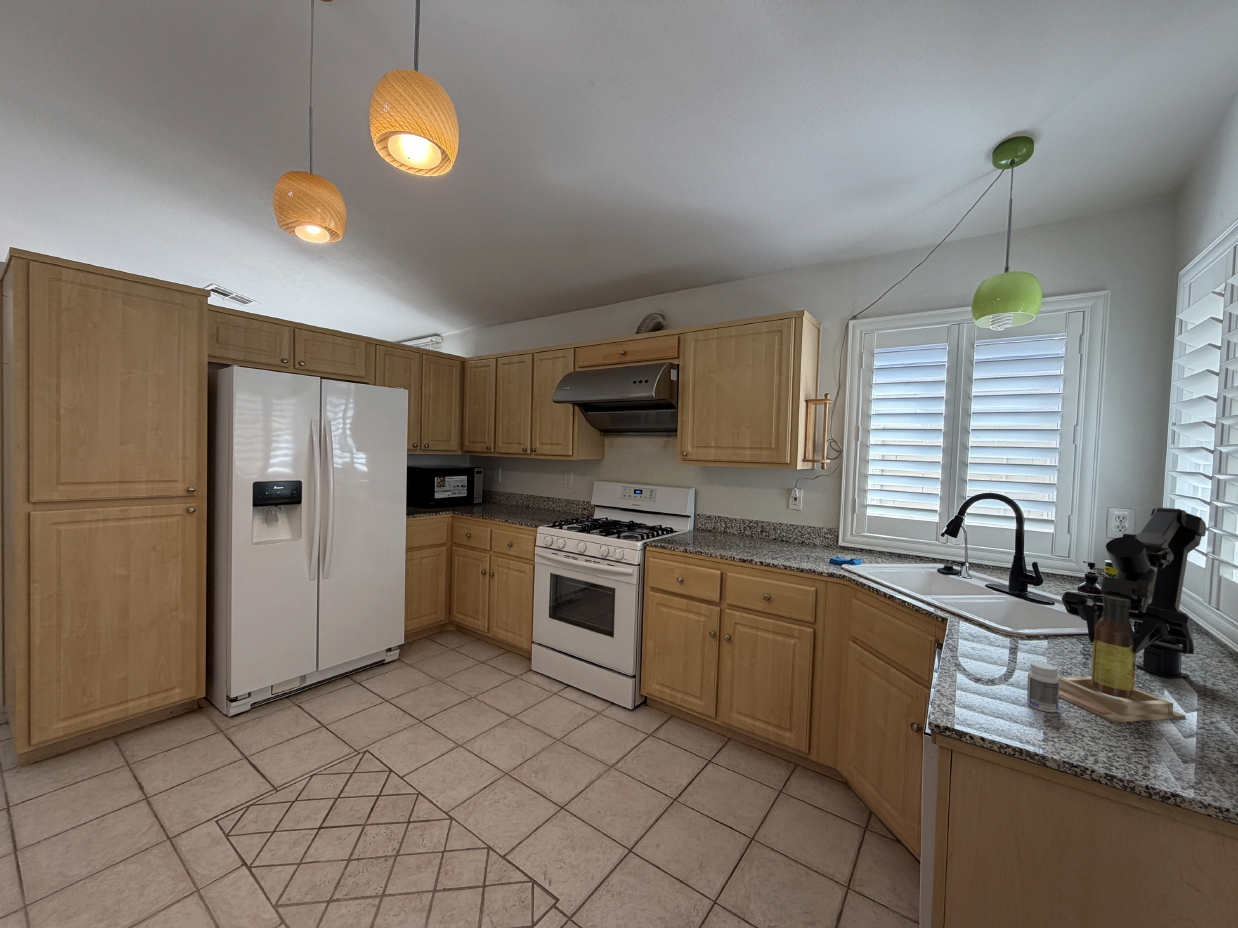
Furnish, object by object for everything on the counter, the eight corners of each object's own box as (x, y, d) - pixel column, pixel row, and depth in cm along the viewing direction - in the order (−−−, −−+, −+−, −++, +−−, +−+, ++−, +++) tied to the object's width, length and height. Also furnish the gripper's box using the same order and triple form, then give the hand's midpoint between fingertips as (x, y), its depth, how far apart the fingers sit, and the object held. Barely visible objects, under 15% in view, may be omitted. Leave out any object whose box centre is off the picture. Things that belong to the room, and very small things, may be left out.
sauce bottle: (1141, 702, 96) (1149, 604, 95) (1101, 695, 98) (1109, 600, 97) (1119, 687, 102) (1127, 595, 101) (1082, 681, 104) (1090, 591, 103)
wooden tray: (1103, 684, 108) (1103, 673, 108) (1185, 717, 94) (1186, 705, 94) (1038, 687, 105) (1038, 676, 105) (1113, 722, 91) (1113, 709, 91)
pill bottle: (1064, 714, 94) (1065, 671, 94) (1036, 711, 95) (1038, 668, 95) (1047, 702, 99) (1049, 661, 98) (1021, 699, 99) (1022, 659, 99)
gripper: (1066, 555, 110) (1043, 610, 104) (1191, 573, 93) (1172, 639, 88) (1078, 585, 114) (1057, 639, 108) (1200, 607, 97) (1183, 672, 92)
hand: (1112, 646), depth 99 cm, fingers closed on sauce bottle, 6 cm apart
